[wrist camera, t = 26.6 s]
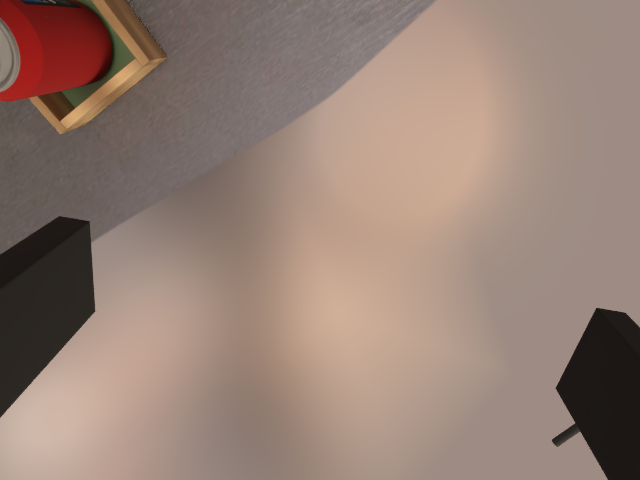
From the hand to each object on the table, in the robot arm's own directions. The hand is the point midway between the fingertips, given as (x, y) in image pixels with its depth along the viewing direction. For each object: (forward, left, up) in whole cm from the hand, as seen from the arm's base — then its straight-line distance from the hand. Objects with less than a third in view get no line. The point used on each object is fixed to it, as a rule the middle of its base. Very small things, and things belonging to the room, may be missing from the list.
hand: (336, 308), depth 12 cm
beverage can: (+2, +24, -31) cm, 39 cm away
